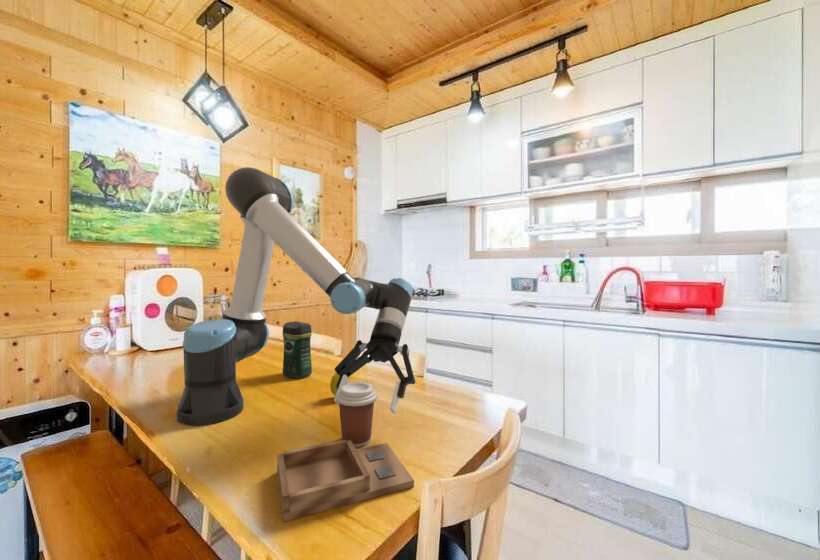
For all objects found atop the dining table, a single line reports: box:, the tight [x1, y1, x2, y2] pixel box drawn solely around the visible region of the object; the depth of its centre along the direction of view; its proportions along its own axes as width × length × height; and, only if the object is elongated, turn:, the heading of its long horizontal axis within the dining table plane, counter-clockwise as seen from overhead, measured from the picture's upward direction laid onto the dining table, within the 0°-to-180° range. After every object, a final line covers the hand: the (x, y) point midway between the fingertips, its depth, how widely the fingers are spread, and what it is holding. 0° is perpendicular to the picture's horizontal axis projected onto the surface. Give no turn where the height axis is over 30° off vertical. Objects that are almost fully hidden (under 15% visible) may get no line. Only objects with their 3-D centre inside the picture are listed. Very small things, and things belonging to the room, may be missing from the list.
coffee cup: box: [336, 381, 378, 448], centre depth 79 cm, size 9×9×12 cm
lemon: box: [329, 372, 351, 397], centre depth 103 cm, size 6×6×8 cm
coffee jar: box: [282, 321, 313, 379], centre depth 123 cm, size 10×8×19 cm
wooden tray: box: [276, 439, 415, 523], centre depth 65 cm, size 22×14×4 cm, turn 114°
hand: (364, 407), depth 80 cm, fingers open, 13 cm apart
